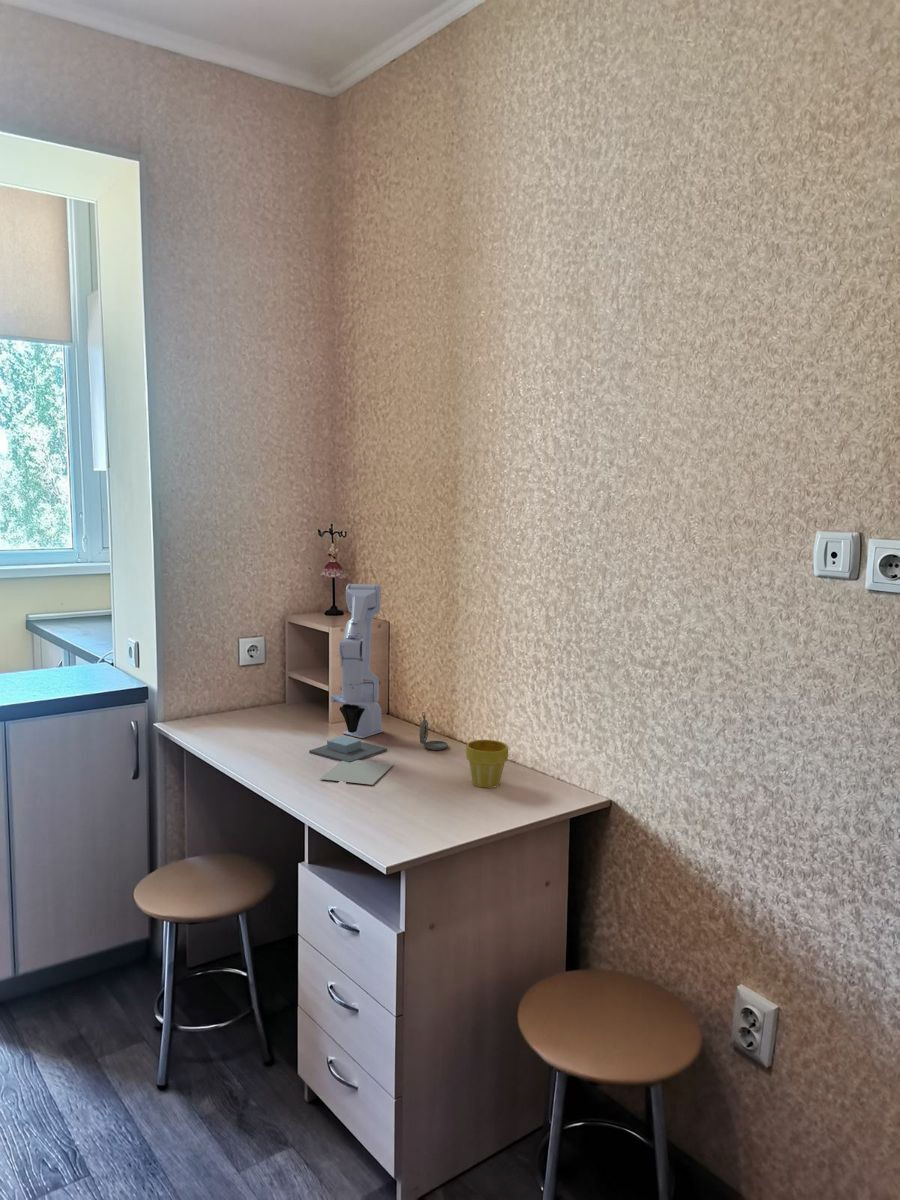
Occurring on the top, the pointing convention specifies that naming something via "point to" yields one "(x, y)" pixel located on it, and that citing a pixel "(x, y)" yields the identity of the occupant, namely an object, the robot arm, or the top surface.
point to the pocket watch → (424, 734)
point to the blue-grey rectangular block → (343, 744)
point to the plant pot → (486, 761)
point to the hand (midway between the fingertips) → (352, 731)
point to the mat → (351, 756)
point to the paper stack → (357, 771)
